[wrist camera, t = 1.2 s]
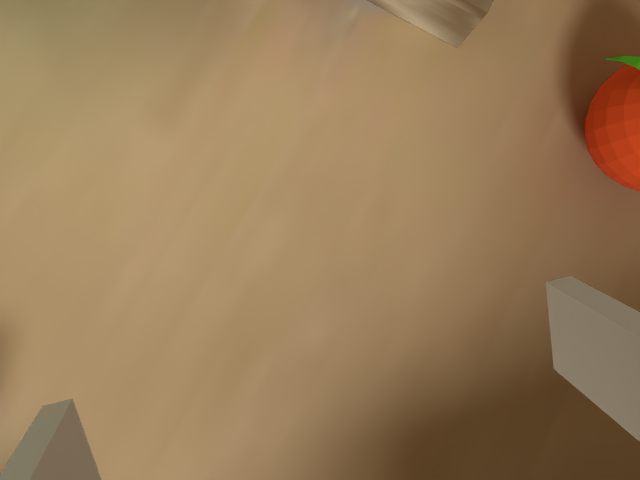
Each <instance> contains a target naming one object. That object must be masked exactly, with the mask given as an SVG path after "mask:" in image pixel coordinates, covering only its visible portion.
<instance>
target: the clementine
mask: <svg viewBox="0 0 640 480" xmlns="http://www.w3.org/2000/svg"><path fill="white" fill-rule="evenodd" d="M604 59H606V60H615V61H621V62H624V63H626V65H625V66H623V67H621V68H620V69H619V70H617V71H616V72H615V73H614V74H612V75H611V76H610V77H609V78H608V79H607V80H606V81H605V82H604V83H603V84H602V85H601V86H600V88H599V89H598V91H597V93H596V94H595V96H594V98H593V99H592V101H591V104H590V106H589V110H588V113H587V117H586V120H585V139H586V143H587V147H588V151H589V153H590V155H591V156H592V158H593V160H594V162H595V164H596V165H597V166H598V167H599V168H600V169H601V170H602V171H603V172H604V174H606V175H607V176H609V177H610V178H612V179H613V180H615V181H617V182H618V183H620V184H621V185H623V186H625V187H628V188H631V189H635V190H638V191H640V57H639V56H618V57H611V58H604Z"/></svg>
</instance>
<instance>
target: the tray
mask: <svg viewBox="0 0 640 480" xmlns="http://www.w3.org/2000/svg"><path fill="white" fill-rule="evenodd" d="M367 1H369V2H371V3H373V4H375V5H377V6H379V7H381V8H383V9H384V10H386V11H388V12H390V13H392V14H394V15H396V16H398V17H400V18H401V19H403V20H405V21H407V22H409V23H411V24H413V25H415V26H417V27H418V28H420V29H422V30H424V31H426V32H428V33H430V34H432V35H434V36H435V37H437V38H439V39H441V40H443V41H445V42H447V43H449V44H451V45H453V46H454V47H456V48H458V47H459V45H460V44H461V43H462V42H463V41H464V40H465V38H466V37H467V36H468V35H469V34H470V32H471V31H472V30H473V29H474V28H475V27H476V25H477V24H478V23H479V22H480V21H481V20H482V18H483V17H484V16H485V15H486V14H487V13H488V11H489V9H490V7H491V5H492V3H493V1H494V0H367Z"/></svg>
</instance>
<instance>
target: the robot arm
mask: <svg viewBox="0 0 640 480" xmlns="http://www.w3.org/2000/svg"><path fill="white" fill-rule="evenodd" d="M546 291H547V302H548V313H549V324H550V334H551V345H552V356H553V367H554V370H556V371H557V372H558V373H559V374H560V375H561V376H563V377H564V378H565V379H566V380H567V381H569V382H570V383H571V384H572V385H573V386H574V387H576V388H577V389H578V390H579V391H580V392H582V393H583V394H584V395H585V396H586V397H587V398H589V399H590V400H591V401H592V402H593V403H594V404H596V405H597V406H598V407H599V408H600V409H602V410H603V411H604V412H605V413H606V414H607V415H609V416H610V417H611V418H612V419H613V420H615V421H616V422H617V423H618V424H619V425H620V426H622V427H623V428H624V429H625V430H626V431H627V432H629V433H630V434H631V435H632V436H633V437H635V438H636V439H637V440H638V441H639V442H640V312H639V311H637V310H635V309H633V308H631V307H629V306H627V305H625V304H623V303H622V302H620V301H618V300H616V299H614V298H612V297H610V296H608V295H606V294H605V293H603V292H601V291H599V290H597V289H595V288H593V287H591V286H589V285H588V284H586V283H584V282H582V281H580V280H578V279H576V278H574V277H572V276H568V277H564V278H560V279H556V280H552V281H548V282H546ZM0 480H101V477H100V474H99V472H98V469H97V466H96V463H95V460H94V458H93V455H92V452H91V449H90V446H89V444H88V441H87V438H86V435H85V432H84V430H83V427H82V424H81V421H80V418H79V415H78V413H77V410H76V407H75V404H74V401H73V399H70V400H65V401H61V402H57V403H53V404H49V405H45V406H42V408H41V409H40V411H39V413H38V414H37V416H36V418H35V419H34V421H33V422H32V424H31V426H30V427H29V429H28V430H27V432H26V434H25V435H24V437H23V439H22V440H21V442H20V443H19V445H18V447H17V448H16V450H15V452H14V453H13V455H12V456H11V458H10V460H9V461H8V463H7V464H6V466H5V468H4V469H3V471H2V473H1V474H0Z"/></svg>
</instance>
